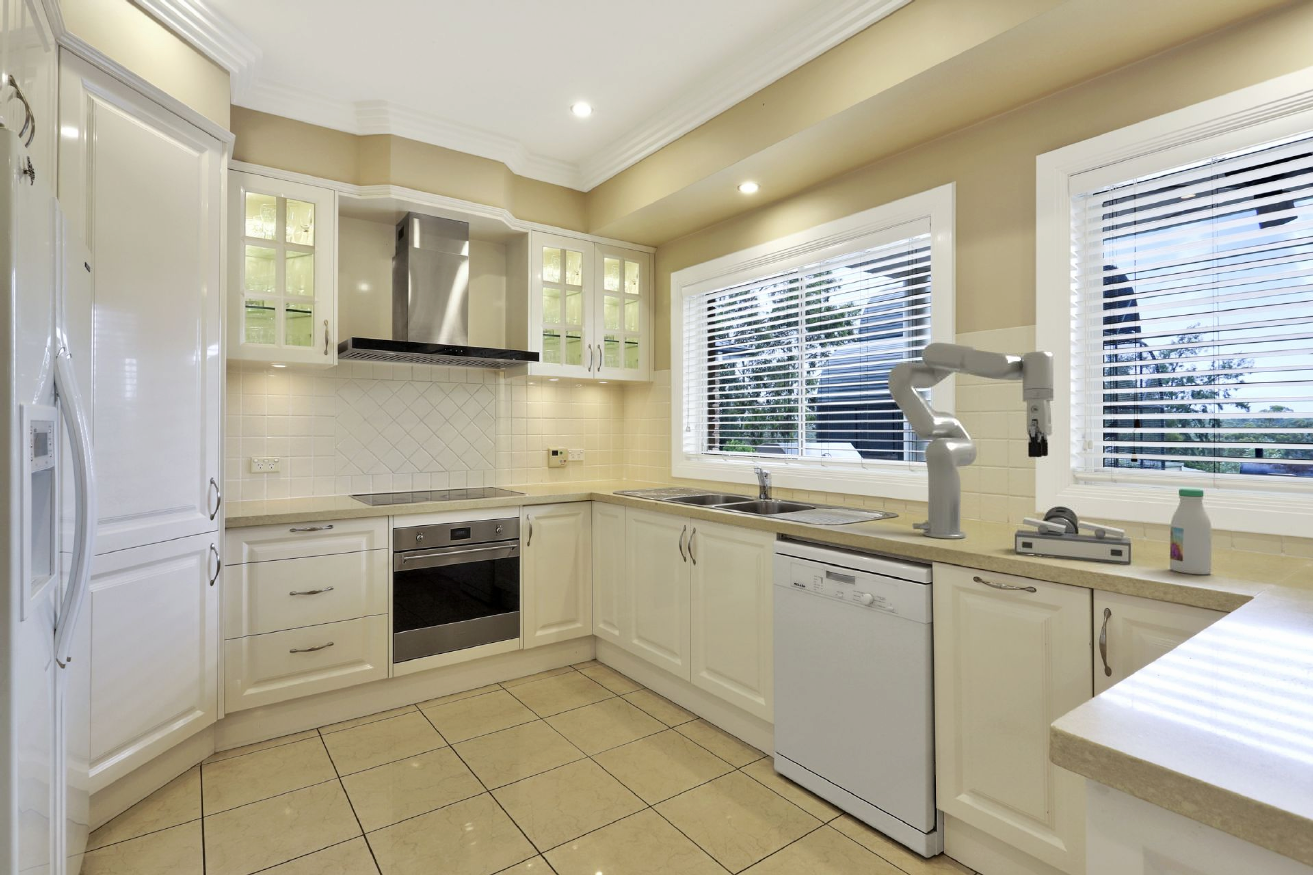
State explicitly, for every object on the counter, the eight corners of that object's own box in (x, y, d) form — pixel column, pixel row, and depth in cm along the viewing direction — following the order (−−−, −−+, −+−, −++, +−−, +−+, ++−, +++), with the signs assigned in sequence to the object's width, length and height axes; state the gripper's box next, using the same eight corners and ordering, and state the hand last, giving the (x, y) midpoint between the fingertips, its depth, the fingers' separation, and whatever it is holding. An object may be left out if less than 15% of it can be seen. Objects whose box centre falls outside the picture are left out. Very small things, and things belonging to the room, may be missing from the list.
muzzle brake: (1078, 539, 205) (1078, 506, 204) (1078, 553, 181) (1078, 516, 181) (1043, 536, 210) (1043, 504, 210) (1038, 550, 186) (1038, 514, 186)
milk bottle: (1212, 571, 158) (1213, 489, 158) (1210, 576, 152) (1211, 491, 152) (1171, 566, 163) (1172, 487, 163) (1168, 571, 158) (1169, 489, 157)
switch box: (1014, 553, 180) (1014, 534, 180) (1018, 548, 188) (1018, 529, 188) (1130, 564, 166) (1130, 543, 166) (1129, 558, 173) (1129, 538, 173)
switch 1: (1021, 528, 182) (1023, 518, 182) (1023, 526, 186) (1025, 516, 186) (1063, 538, 177) (1065, 528, 176) (1063, 535, 181) (1065, 525, 180)
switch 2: (1076, 532, 175) (1079, 522, 175) (1077, 530, 179) (1079, 520, 179) (1121, 542, 169) (1124, 532, 169) (1121, 539, 173) (1123, 529, 173)
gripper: (1048, 393, 175) (1048, 457, 175) (1058, 396, 188) (1058, 455, 188) (1016, 395, 180) (1017, 457, 180) (1028, 397, 193) (1029, 455, 193)
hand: (1038, 456), depth 184 cm, fingers open, 9 cm apart
